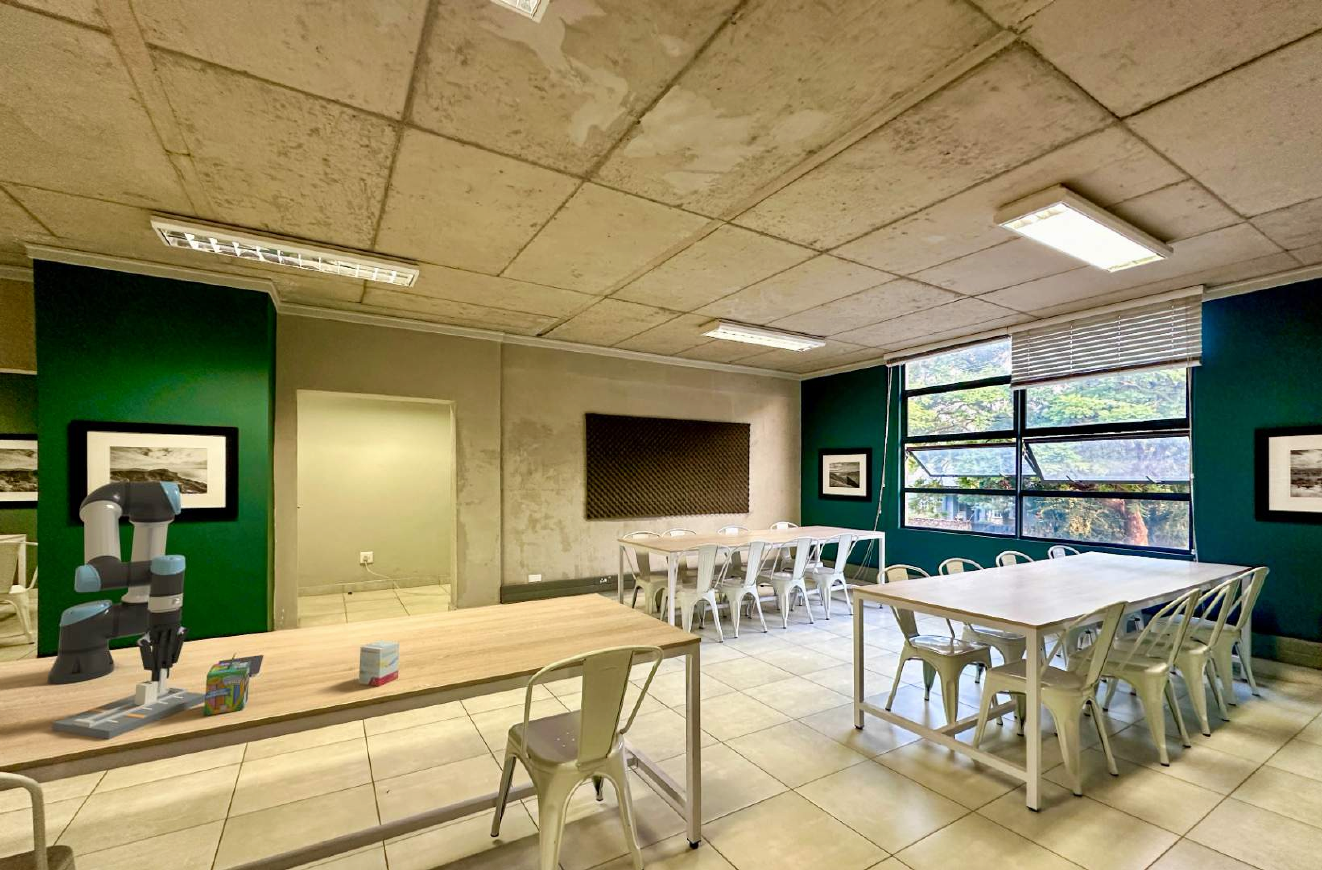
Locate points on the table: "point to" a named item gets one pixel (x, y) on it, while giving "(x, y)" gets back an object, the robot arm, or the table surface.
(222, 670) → the chalk box
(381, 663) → the ink box
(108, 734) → the console
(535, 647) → the table surface
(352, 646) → the table surface
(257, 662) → the notebook
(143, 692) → the fader tab
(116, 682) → the table surface
